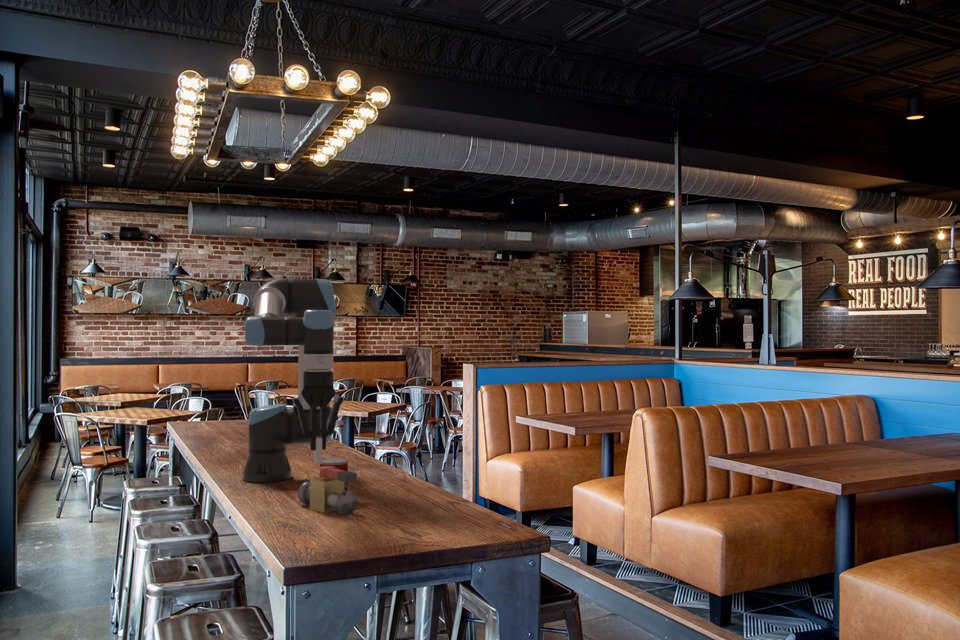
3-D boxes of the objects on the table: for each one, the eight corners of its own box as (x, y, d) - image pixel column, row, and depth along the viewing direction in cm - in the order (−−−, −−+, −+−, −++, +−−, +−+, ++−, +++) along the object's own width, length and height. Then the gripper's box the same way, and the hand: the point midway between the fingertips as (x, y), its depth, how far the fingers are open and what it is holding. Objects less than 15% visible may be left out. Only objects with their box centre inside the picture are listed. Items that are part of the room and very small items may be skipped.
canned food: (334, 504, 202) (334, 463, 203) (313, 500, 207) (313, 461, 207) (353, 498, 209) (353, 459, 209) (332, 495, 213) (332, 457, 213)
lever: (316, 474, 197) (316, 467, 197) (330, 473, 199) (330, 465, 200) (344, 482, 186) (344, 474, 186) (358, 480, 189) (358, 473, 189)
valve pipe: (297, 505, 200) (297, 473, 201) (316, 501, 205) (317, 470, 205) (338, 517, 188) (338, 482, 188) (358, 512, 193) (358, 479, 193)
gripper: (295, 372, 183) (294, 467, 183) (347, 370, 188) (346, 463, 188) (289, 369, 190) (289, 461, 190) (340, 368, 195) (340, 458, 195)
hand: (318, 462), depth 189 cm, fingers closed
